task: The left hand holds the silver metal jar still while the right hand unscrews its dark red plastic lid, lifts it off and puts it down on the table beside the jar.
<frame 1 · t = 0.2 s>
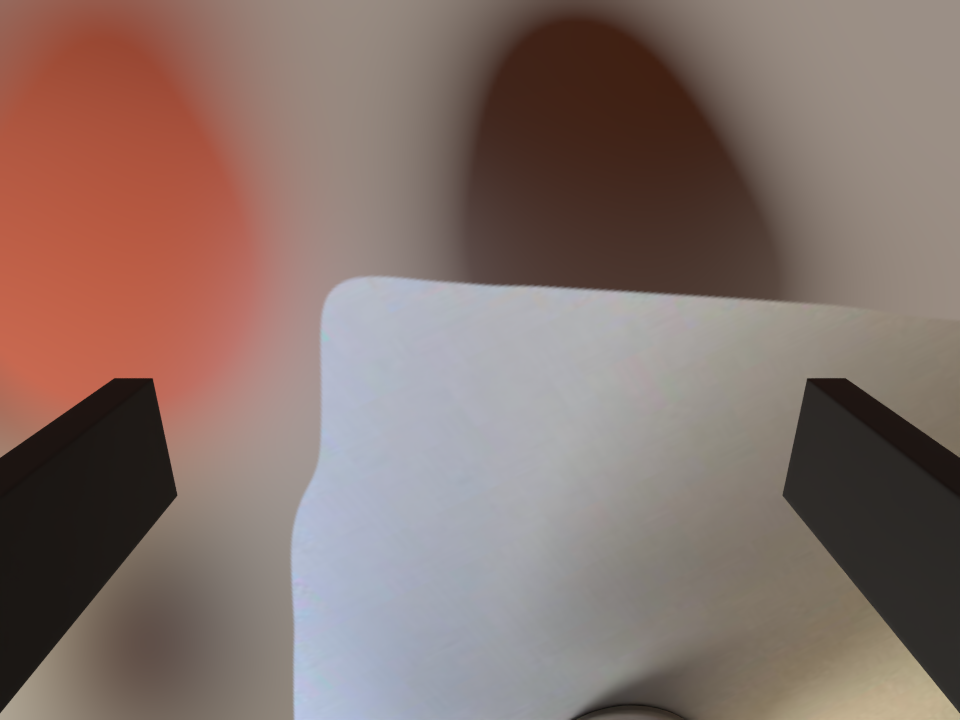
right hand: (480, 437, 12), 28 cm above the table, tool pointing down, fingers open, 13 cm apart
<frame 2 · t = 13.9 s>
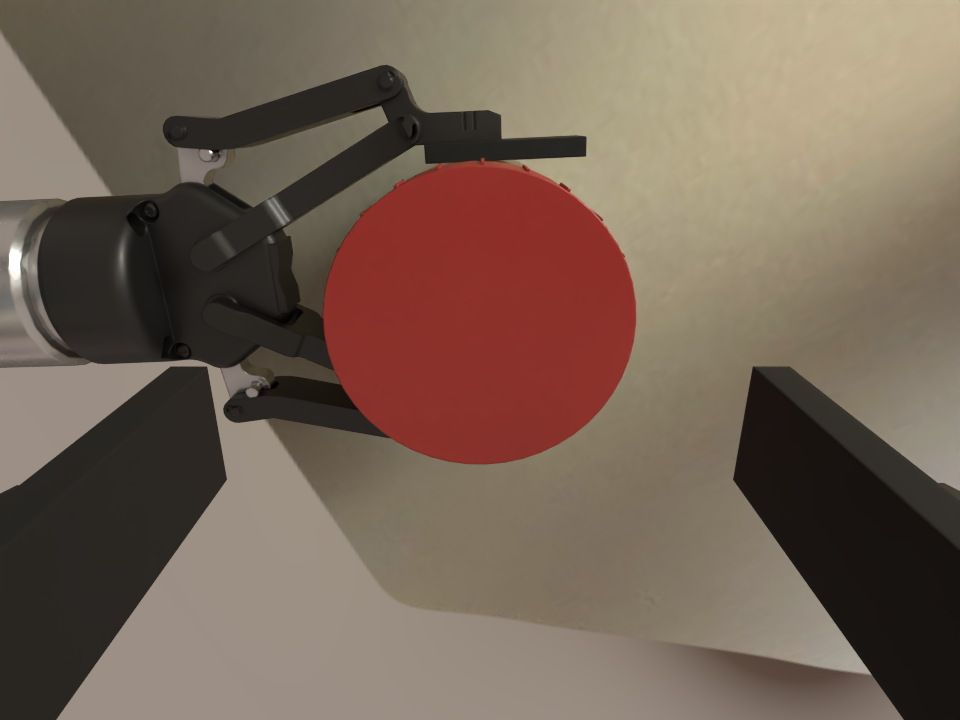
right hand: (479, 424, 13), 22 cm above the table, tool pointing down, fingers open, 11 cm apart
left hand: (579, 261, 28), fingers closed on jar, 9 cm apart
lid: (479, 325, 19), point 16 cm above the table, screwed on, not yet turned
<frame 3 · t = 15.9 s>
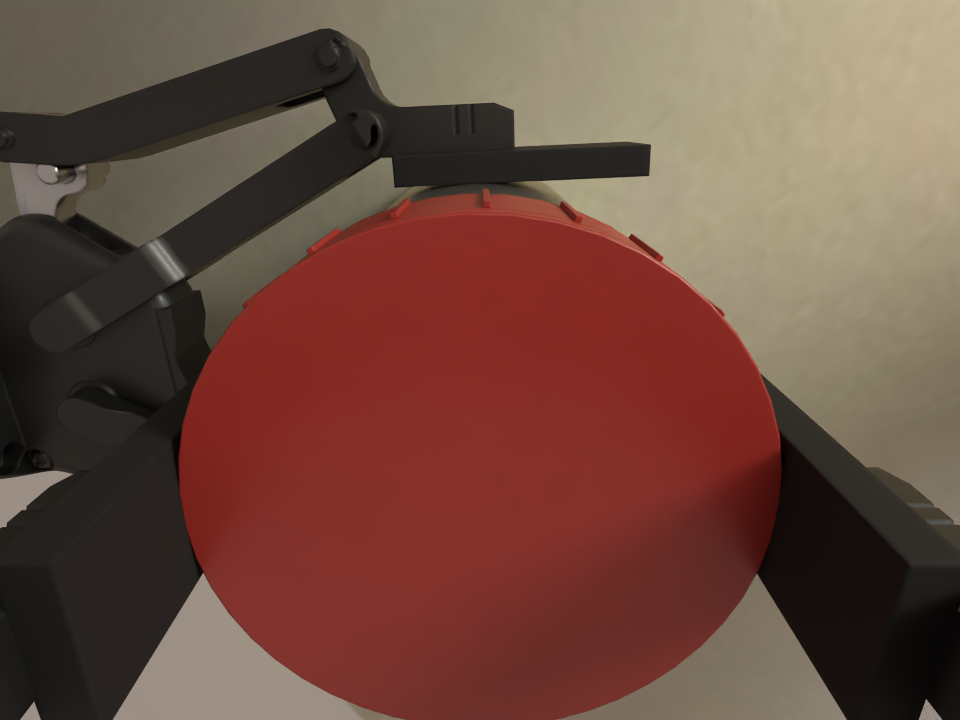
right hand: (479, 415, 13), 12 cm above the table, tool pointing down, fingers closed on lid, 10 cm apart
left hand: (628, 329, 18), fingers closed on jar, 9 cm apart
jar: (480, 281, 25), on the table, touching left hand
lid: (479, 503, 10), point 16 cm above the table, screwed on, not yet turned, touching right hand
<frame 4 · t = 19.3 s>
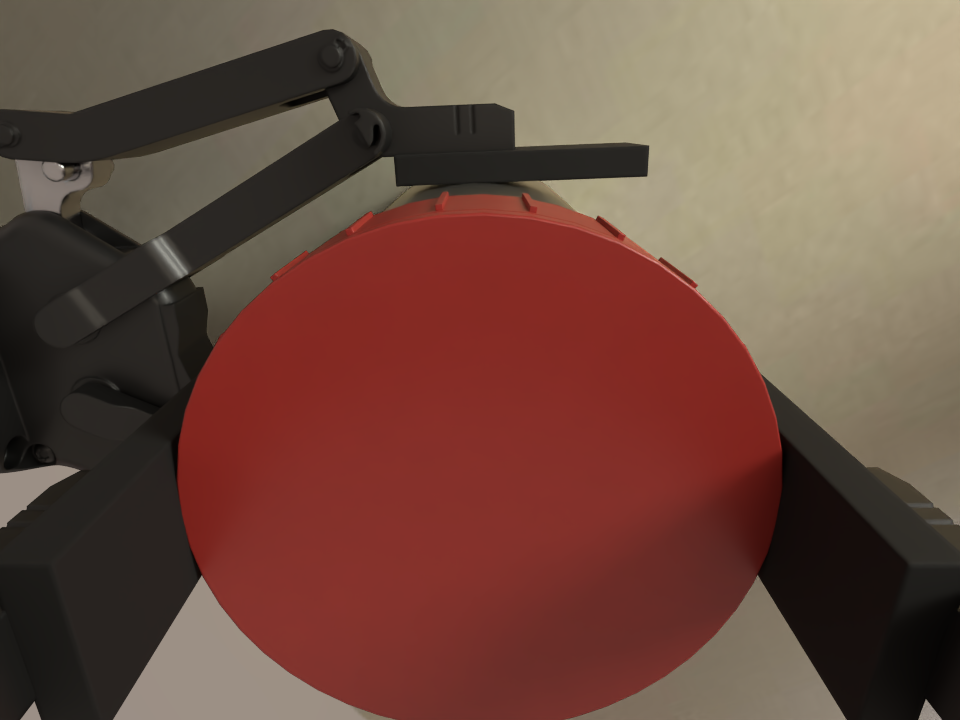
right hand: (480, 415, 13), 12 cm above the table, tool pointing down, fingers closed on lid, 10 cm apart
left hand: (626, 328, 19), fingers closed on jar, 9 cm apart
jar: (480, 280, 25), on the table, touching left hand
lid: (479, 505, 10), point 16 cm above the table, turned 102° so far, risen 0.3 cm, still on its thread, touching right hand
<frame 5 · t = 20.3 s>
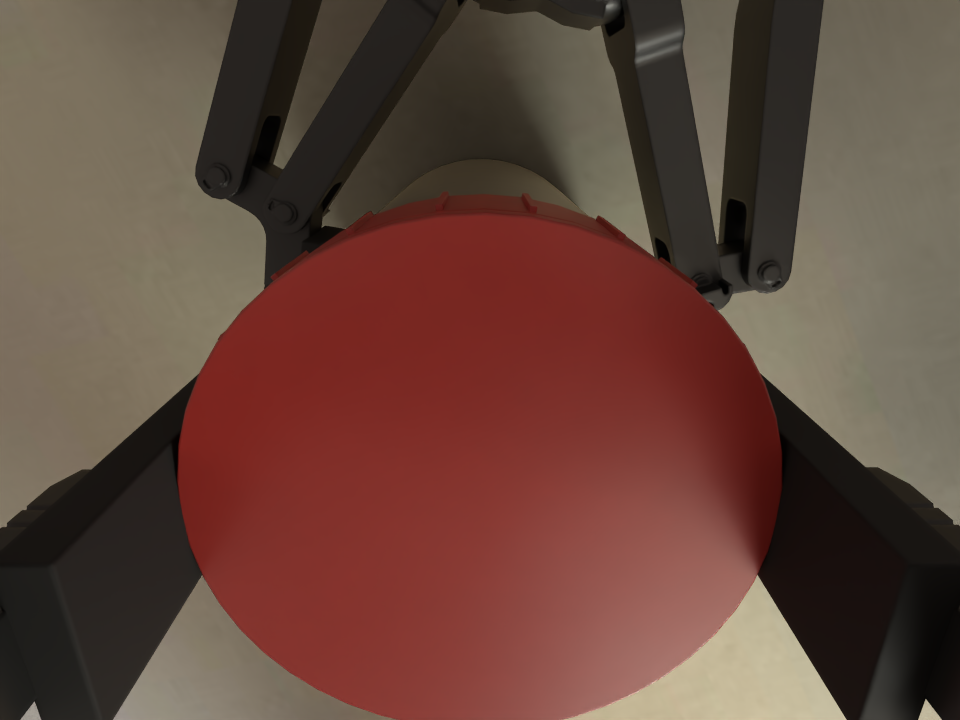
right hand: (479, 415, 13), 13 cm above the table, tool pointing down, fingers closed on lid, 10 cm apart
left hand: (458, 450, 21), fingers closed on jar, 9 cm apart
jar: (480, 274, 25), on the table, touching left hand
lid: (479, 505, 10), point 16 cm above the table, off its thread, touching right hand
when the right hand's fingers open (0 cm above the table, at t = 26.1 s): lid drops 2 cm, point 2 cm above the table.
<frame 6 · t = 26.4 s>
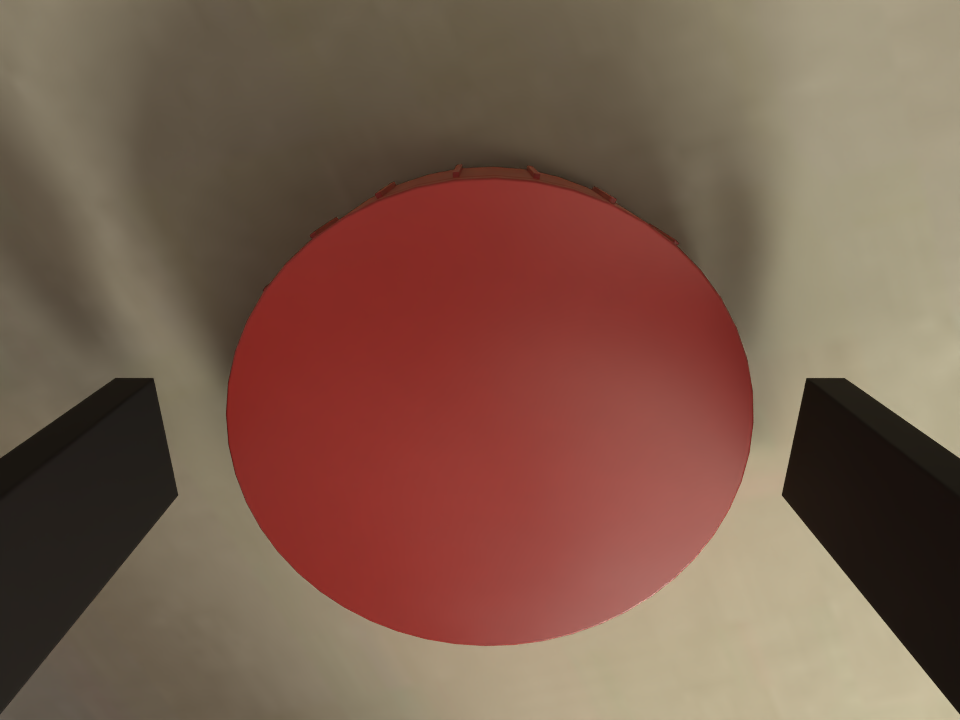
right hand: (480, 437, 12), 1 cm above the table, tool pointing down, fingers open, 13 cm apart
lid: (488, 440, 12), point 2 cm above the table, off its thread
when the left hand's fingers open (7 cm above the table, at t = 27.1 s): jar stays where it is, on the table.
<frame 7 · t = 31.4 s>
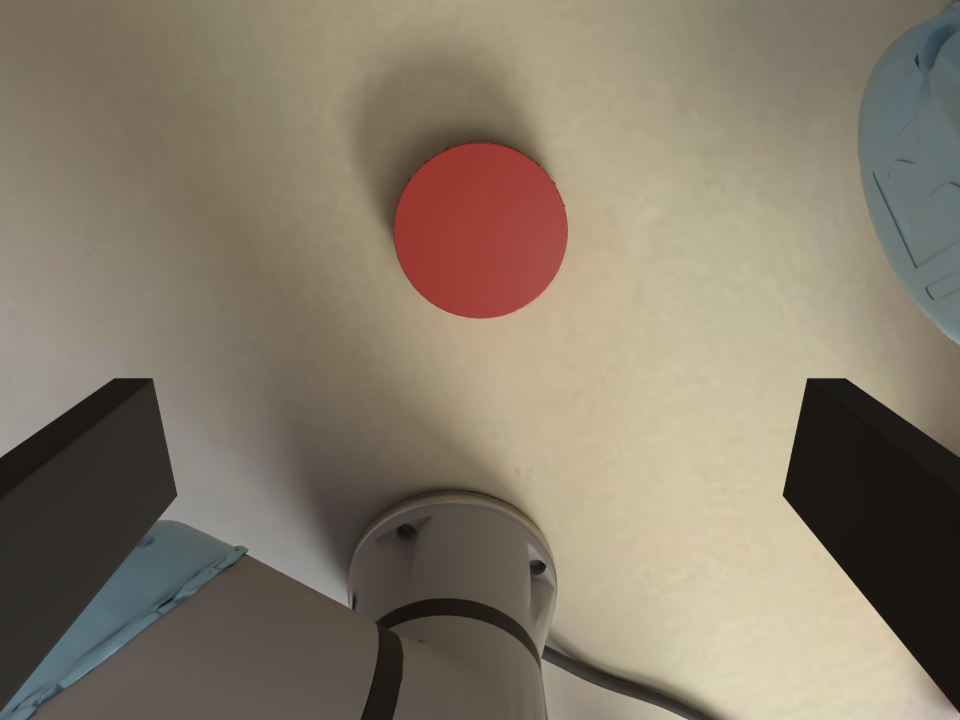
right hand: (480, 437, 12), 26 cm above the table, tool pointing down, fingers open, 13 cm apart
lid: (480, 234, 35), point 2 cm above the table, off its thread
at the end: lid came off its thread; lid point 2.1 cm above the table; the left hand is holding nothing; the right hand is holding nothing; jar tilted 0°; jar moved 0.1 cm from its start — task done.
